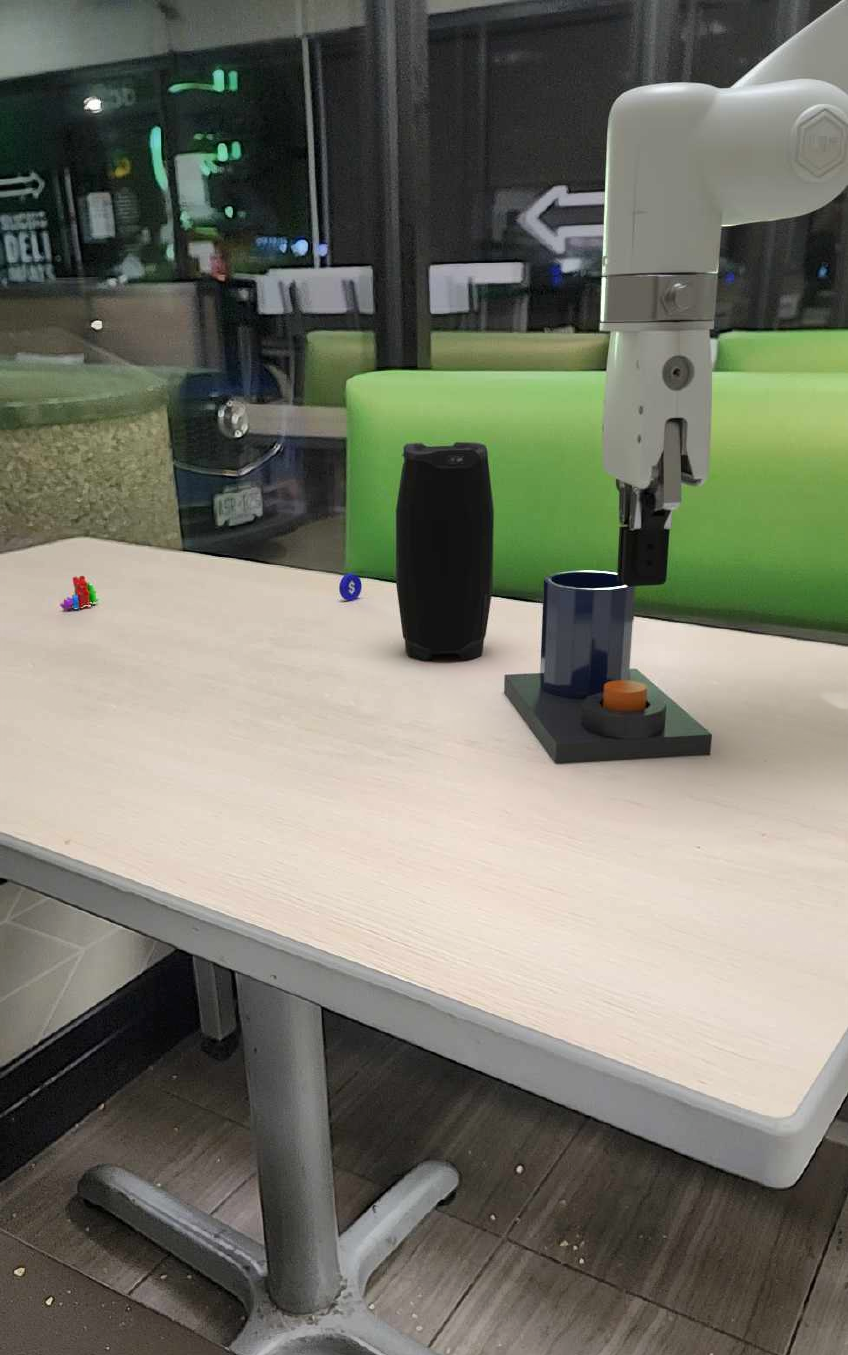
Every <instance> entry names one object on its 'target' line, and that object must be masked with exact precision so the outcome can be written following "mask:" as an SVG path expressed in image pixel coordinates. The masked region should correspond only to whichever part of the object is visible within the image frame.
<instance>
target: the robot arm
mask: <svg viewBox="0 0 848 1355" xmlns="http://www.w3.org/2000/svg"><path fill="white" fill-rule="evenodd" d="M847 187H848V0H840V1H839V2H838V3H836V4H835V5H833V6H832V7H830V8H829V9H828V10H827V11H825V12H824V13H822V14H821V15H820V16H818V17H817V18H816V19H815V20H813V21H812V22H811V23H808V25H806V26H805V27H804V28H802V29H801V30H800V31H798V32H796V33H795V34H794V35H793V36H792V37H790V38H788V39H787V40H786V41H785V42H784V43H782V44H781V45H780V46H778V47H777V48H776V49H774V51H772V52H771V53H769V54H768V56H765V57H764V58H763V59H762V60H761V61H760V62H759V63H757V64H756V65H755V66H754V67H753V68H752V69H750V70H749V71H748V72H747V73H745V74H744V75H743V76H742V77H741V78H740V79H738V80H737V81H736V82H735V83H734V84H733V85H731V86H730V87H725V88H724V87H723V88H720V87H716V86H714V85H712V84H708V83H707V84H706V83H701V82H663V83H654V84H647V85H643V86H642V85H641V86H637V87H635V88H631V89H629V90H627V91H625V92H623V93H621V95H619V96H618V97H617V98H616V99H615V101H614V102H613V104H612V106H611V109H610V111H609V116H608V120H607V135H606V161H605V185H604V206H603V207H604V209H603V214H604V215H603V234H602V235H603V236H602V238H603V239H602V262H601V266H602V267H601V276H602V277H601V281H600V305H599V330H598V331H599V332H610V336H609V342H608V343H609V344H608V351H607V352H608V354H607V358H606V369H605V370H606V371H605V382H604V394H603V407H602V422H601V424H602V425H601V426H602V427H601V464H602V467H603V469H604V471H605V472H606V473H607V474H608V475H610V476H611V477H612V478H614V479H615V488H616V489H617V491H618V521H619V525H620V526H619V527H618V528H619V529H618V530H619V532H618V548H617V549H618V551H617V569H616V571H617V572H616V573H617V579H618V581H620V582H621V583H623V584H624V585H625V586H636V587H643V586H644V587H647V586H661V585H664V584H665V583H666V581H667V577H668V576H667V574H668V562H669V561H668V559H669V547H670V546H669V545H670V544H669V543H670V530H671V528H672V525H673V524H672V523H673V517H674V516H673V515H674V510H677V509H680V508H681V505H682V484H684V485H687V486H690V487H701V486H703V484H704V483H705V482H706V481H707V480H708V477H709V473H710V461H711V460H710V459H711V436H712V435H711V434H712V408H713V407H712V405H713V364H712V344H711V335H710V334H711V333H710V330H714V329H715V319H716V318H715V316H716V305H717V304H716V303H717V292H718V291H717V290H718V279H719V278H718V277H719V275H718V273H719V263H720V250H721V239H722V228H723V227H731V226H732V227H733V226H737V225H744V224H749V223H750V224H752V223H758V222H770V221H777V220H782V219H791V218H795V217H800V216H804V215H807V214H810V213H812V212H815V211H817V210H820V209H821V208H823V207H825V206H826V205H828V204H830V203H831V202H832V201H834V199H836V198H837V197H838V196H839V195H841V193H842V192H843V191H844V190H845V189H846V188H847Z"/></svg>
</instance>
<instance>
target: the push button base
mask: <svg viewBox="0 0 848 1355" xmlns="http://www.w3.org/2000/svg"><path fill="white" fill-rule="evenodd" d="M503 679H504V680H503V681H504V683H503V684H504V685H503V693H504V695H505V696H506V698H507V699H508V700H509V702H510V703H511V705H512V706H513V707H514V709H515V710H516V711H517V713H518V714H519V716H520V717H521V718H522V720H523V721H524V723H525V724H526V725H527V727H528V728H529V729H530V731H531V732H532V734H533V735H534V736H535V738H536V739H537V741H538V742H539V744H540V745H541V746H542V749H544V751H545V752H546V753H547V755H548V756H549V758H550V759H551V760H552V761H553V763H554V764H555V765H562V764H563V765H564V764H580V763H596V762H597V763H599V762H615V761H633V760H635V761H636V760H650V759H651V760H652V759H665V758H666V759H668V758H684V757H685V758H686V757H703V756H711V749H712V740H713V739H712V738H713V734H712V733H711V732H710V731H709V730H708V729H706V728H705V727H704V726H703V725H702V724H701V723H699V722H698V721H697V720H696V719H695V718H694V717H693V716H691V715H690V714H689V713H688V712H687V711H686V710H685V709H683V708H682V707H681V706H680V705H679V704H678V703H677V702H675V701H674V700H673V699H672V698H670V697H669V696H668V695H667V694H666V693H665V692H664V691H662V689H661V688H660V687H658V686H657V685H656V684H655V683H654V682H652V681H651V680H650V679H649V678H648V677H647V676H646V675H644V674H643V673H642V672H641V671H640V670H638V669H637V668H630V679H629V681H636V682H640V683H643V684H645V685H646V686H647V696H646V708H645V709H643V710H639V711H617V710H611V709H608V708H605V707H603V696H604V692H602V693H598V694H595V695H591V696H588V697H587V698H586V699H575V698H567V697H562V696H558V695H554V694H551V693H549V692H547V691H545V690H543V689H542V687H541V685H540V682H541V679H540V672H533V673H513V674H512V673H511V674H504V678H503Z"/></svg>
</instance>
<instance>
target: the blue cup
mask: <svg viewBox="0 0 848 1355" xmlns="http://www.w3.org/2000/svg"><path fill="white" fill-rule="evenodd" d="M542 589H543V592H542V595H543V596H542V615H541V619H542V620H541V638H540V639H541V640H540V641H541V642H540V644H541V645H540V666H539V668H540V670H539V673H540V679H541V682H540V685H541V687H542V689H543V690H545V691H547V692H549V693H551V694H554V695H558V696H562V697H567V698H575V699H586V698H587V697H588V696H591V695H595V694H598V693H602V692H604V685H605V684H606V683H607V682H610V681H616V680H629V679H630V669H631V664H632V651H633V639H634V638H633V636H634V623H635V622H634V621H635V608H636V596H637V586H625V585H624V584H623V583H621V582H620V581H618V579H617V572H610V571H600V570H571V571H570V570H569V571H562V572H561V571H560V572H555V573H552V574H549V575H546V576H545V577H544V579H543V588H542Z"/></svg>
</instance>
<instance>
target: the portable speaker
mask: <svg viewBox="0 0 848 1355" xmlns="http://www.w3.org/2000/svg"><path fill="white" fill-rule="evenodd" d="M401 456H402V458H403V464H402V467H401V474H400V479H399V480H400V481H399V487H398V493H397V499H396V506H395V586H396V593H397V601H398V602H397V603H398V609H399V617H400V622H401V623H400V624H401V632H402V639H403V640H404V648H405V654H407V656H408V657H409V658H411V659H414V660H419V661H422V662H425V661H429V660H431V657H432V655H454V654H455V655H456V654H457V655H459V657H460V659H461V660H462V661H473V660H475V659H477V658H479V657H482V655H483V652H484V651H483V650H484V643H485V638H486V637H487V636H486V635H487V630H488V623H489V614H490V609H491V602H492V594H493V587H494V586H493V582H494V581H493V580H494V579H493V578H494V577H493V576H494V532H495V531H494V530H495V528H494V527H495V520H494V519H495V508H494V499H493V492H492V491H493V490H492V484H491V483H492V482H491V473H490V466H489V464H490V463H489V453H488V449H487V447H486V444H484V443H479V442H462V441H461V442H459V441H456V442H454V444H452V445H440V446H439V445H437V446H427V445H426V444H424V443H423V442H412V443H405V445H403V453H402V454H401Z"/></svg>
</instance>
